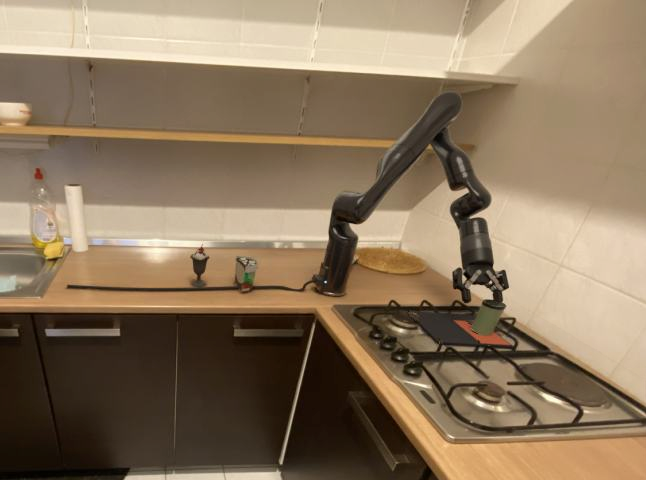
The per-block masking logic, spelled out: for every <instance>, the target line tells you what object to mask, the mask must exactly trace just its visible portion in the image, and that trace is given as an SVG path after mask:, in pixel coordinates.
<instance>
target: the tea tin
mask: <svg viewBox="0 0 646 480" xmlns="http://www.w3.org/2000/svg"><path fill="white" fill-rule="evenodd" d="M506 308H507V304H505V303H504V302H499V301H496V300H493V299H489V298H485V299H483V300H482V302H481V305H480V307H479V309H478V311H477V313H476V315H475V320H474V322H473V324H472V326H471V328H472V329H473V330H474V331H475V332H476V333H478V334H479V335H483V336H490V335H492V333H493V331H494V332H495V329H496V327H497V325H498V323H499V321H500V319H501V317H502V315H503V313H504V310H506Z"/></svg>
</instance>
